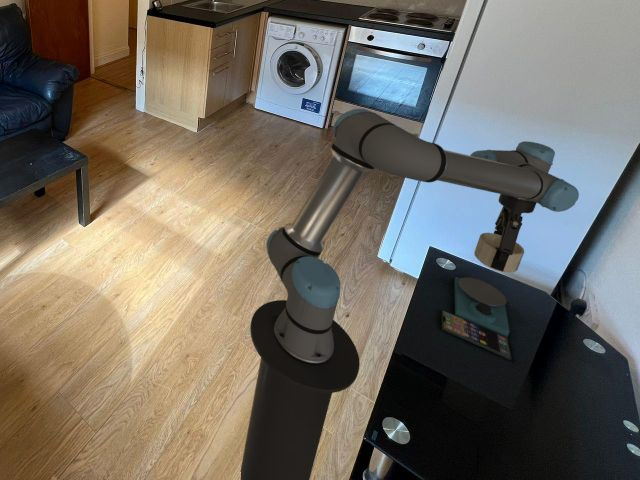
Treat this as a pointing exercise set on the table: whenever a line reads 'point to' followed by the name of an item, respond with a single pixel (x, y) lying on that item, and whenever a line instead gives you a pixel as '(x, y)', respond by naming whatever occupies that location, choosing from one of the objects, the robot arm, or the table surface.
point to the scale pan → (482, 292)
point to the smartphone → (476, 334)
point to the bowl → (487, 252)
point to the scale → (468, 311)
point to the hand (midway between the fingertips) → (495, 259)
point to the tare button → (484, 308)
